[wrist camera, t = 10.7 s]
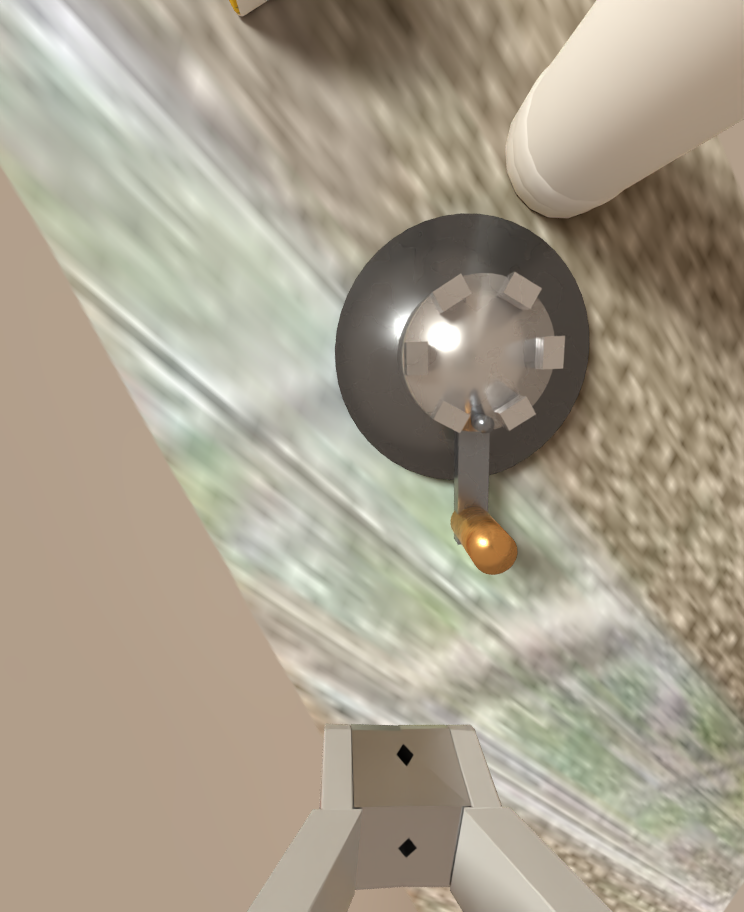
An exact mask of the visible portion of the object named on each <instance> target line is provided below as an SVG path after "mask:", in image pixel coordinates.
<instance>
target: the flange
mask: <svg viewBox="0 0 744 912" xmlns="http://www.w3.org/2000/svg"><path fill="white" fill-rule="evenodd" d="M513 272H516V273H518V274H519V275H521V276H523V277H524V278H526V279H527V280H529V281H531V282H532V283H534V284H536V285H537V286H539V287H540V288H542V289H541V291H540V293H539V295H538V296H537V298H538V299H539V300H540V302H541V303H542V304H543V306H544V308H545V309H546V311H547V313H548V315H549V317H550V320H551V322H552V326H553V330H554V336H565V346H564V362H563V369H553V370H552V374H551V376H550V379H549V382H548V384H547V386H546V388H545V390H544V391H543V393H542V394H541V396H540V397H539V399H538V400H537V401H536V403H535V404H534V405H533V406H532V408H533V409H534V411H535V413H536V414H535V415H534V416H532V417H531V418H529V419H527V420H526V421H524V422H523V423H521V424H519V425H518V426H516V427H515V428H513V429H511V430H510V431H509V430H506V429H504V428H503V427H500V428H497V429H493V430H492V431H491V432H490V440H489V475H491V474H495V473H498V472H501V471H503V470H505V469H507V468H510V467H512V466H514V465H516V464H517V463H519V462H521V461H523V460H524V459H526V458H528V457H529V456H530V455H532V454H533V453H534V452H535V451H537V450H538V449H539V448H541V447H542V446H543V445H544V444H545V443H546V442H547V441H548V440H549V439H550V438H551V437H552V436H553V435H554V433H555V432H556V431H557V430H558V428H559V427H560V426H561V425H562V423H563V422H564V420H565V419H566V417H567V416H568V414H569V413H570V411H571V409H572V407H573V405H574V403H575V401H576V399H577V397H578V395H579V392H580V389H581V386H582V383H583V381H584V377H585V372H586V368H587V363H588V354H589V325H588V319H587V312H586V308H585V305H584V301H583V298H582V294H581V292H580V290H579V287H578V285H577V283H576V281H575V278H574V277H573V275H572V273H571V272H570V270H569V269H568V267H567V265H566V264H565V263H564V261H563V260H562V259H561V258H560V256H559V255H558V254H557V253H556V251H555V250H553V249H552V248H551V247H550V246H549V245H548V244H547V243H546V242H545V241H544V240H543V239H541V238H540V237H538V236H537V235H535V234H534V233H533V232H531V231H530V230H528V229H526V228H524V227H522V226H520V225H518V224H516V223H514V222H511V221H508V220H505V219H502V218H499V217H495V216H489V215H482V214H455V215H447V216H442V217H438V218H435V219H431V220H428V221H425V222H422V223H420V224H418V225H416V226H414V227H411V228H409V229H407V230H406V231H404V232H403V233H401V234H399V235H398V236H396V237H395V238H393V239H392V240H391V241H389V242H388V243H387V244H386V245H385V246H384V247H382V248H381V249H380V250H379V251H378V252H377V253H376V254H375V255H374V256H373V257H372V258H371V260H370V261H369V262H368V263H367V264H366V265H365V267H364V268H363V270H362V271H361V272H360V274H359V275H358V277H357V278H356V280H355V282H354V284H353V285H352V287H351V289H350V291H349V293H348V295H347V298H346V300H345V303H344V306H343V308H342V311H341V314H340V319H339V323H338V328H337V334H336V344H335V362H336V372H337V378H338V384H339V387H340V391H341V394H342V397H343V400H344V403H345V405H346V407H347V409H348V412H349V414H350V416H351V418H352V419H353V421H354V422H355V424H356V426H357V427H358V429H359V430H360V432H361V433H362V434H363V435H364V436H365V438H366V439H367V440H368V441H369V442H370V443H371V444H372V445H373V446H374V447H375V448H376V449H377V450H378V451H379V452H380V453H381V454H383V455H384V456H386V457H387V458H388V459H390V460H391V461H393V462H394V463H396V464H398V465H400V466H402V467H404V468H405V469H407V470H410V471H413V472H415V473H418V474H421V475H424V476H429V477H433V478H438V479H449V480H454V430H453V429H451V428H449V427H447V426H445V425H443V424H441V423H439V422H437V421H435V420H434V419H432V418H431V417H430V415H428V414H427V413H425V412H424V411H423V410H421V409H420V408H419V407H418V406H417V405H416V404H415V403H414V402H413V401H412V399H411V398H410V396H409V395H408V394H407V392H406V390H405V388H404V386H403V384H402V381H401V378H400V374H399V370H398V361H397V353H398V344H399V339H400V336H401V332H402V329H403V327H404V325H405V323H406V321H407V319H408V317H409V316H410V314H411V313H412V311H413V310H414V309H415V308H416V306H417V305H418V304H419V303H420V302H421V301H422V300H423V299H425V298H426V297H427V296H429V294H430V293H432V292H433V291H435V290H436V289H438V288H439V287H441V286H442V285H444V284H445V283H447V282H449V281H450V280H452V279H453V278H455V277H456V276H458V275H459V274H462V276H466V275H470V274H477V273H493V274H498V275H503V276H506V277H507V275H509V274H511V273H513Z"/></svg>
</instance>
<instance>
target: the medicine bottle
mask: <svg viewBox="0 0 744 912" xmlns="http://www.w3.org/2000/svg"><path fill="white" fill-rule="evenodd" d="M229 1H230V3H231V5H232V7H233V9H234V11H235V12H236V13H237V14H238V15H239V16H244V15H246V14H248V13H249V12H251V11H252V10H254V9H255V8H257V7H259V6H260V5H262V4H263V3H265V2H266V1H268V0H229Z"/></svg>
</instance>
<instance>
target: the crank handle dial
mask: <svg viewBox="0 0 744 912" xmlns="http://www.w3.org/2000/svg"><path fill="white" fill-rule="evenodd" d="M541 289H542V288H540V287H539V286H537V285H536V284H534V283H532V282H531V281H529V280H527V279H526V278H524V277H523V276H521V275H519V274H518V273H516V272H513V273H511V274H509V275H507V277H506V276H503V275H498V274H493V273H477V274H470V275H466V276H462V274H459V275H458V276H456V277H455V278H453V279H452V280H450V281H449V282H447V283H445V284H444V285H442V286H441V287H439V288H438V289H436V290H435V291H433V292H432V293H430V294H429V296H427V297H426V298H425V299H423V300H422V301H421V302H420V303H419V304H418V305H417V306H416V308H415V309H414V310H413V311H412V313H411V314H410V316H409V317H408V319H407V321H406V323H405V325H404V327H403V329H402V332H401V336H400V339H399V344H398V353H397V361H398V370H399V374H400V378H401V381H402V384H403V386H404V388H405V390H406V392H407V394H408V395H409V396H410V398H411V399H412V401H413V402H414V403H415V404H416V405H417V406H418V407H419V408H420V409H421V410H423V411H424V412H425V413H427V414H428V415H430V417H431V418H432V419H434V420H435V421H437V422H439V423H441V424H443V425H445V426H447V427H449V428H451V429H453V430H454V512H453V514H452V517H451V528H452V530H453V532H454V539H455V541H456V542H457V544H462V545H463V547H464V549H465V550H466V552H467V553H468V555H469V556H470V558H471V559H472V561H473V562H474V564H475V565H476V567H477V568H478V569H479V570H480V571H482V572H483V573H486V574H491V575H495V574H500V573H503V572H505V571H506V570H508V569H509V568H510V567H511V566H512V565H513V564H514V562H515V560H516V558H517V546H516V543H515V541H514V540H513V539H512V538H511V537H510V536H509V535H508V533H507V532H506V531H505V530H504V529H503V528H502V527H501V526H500V525H499V524H498V523H497V522H496V521H495V520H494V519H493V518H492V517H491V516H490V514H489V513H488V484H489V440H490V432H491V431H492V430H493V429H497V428H500V427H503V428H504V429H506V430H509V431H510V430H511V429H513V428H515V427H516V426H518V425H519V424H521V423H523V422H524V421H526V420H527V419H529V418H531V417H532V416H534V415H535V414H536V413H535V411H534V409H533V408H532V406H533V405H534V404H535V403H536V401H537V400H538V399H539V397H540V396H541V394H542V393H543V391H544V390H545V388H546V386H547V384H548V382H549V379H550V376H551V374H552V370H553V369H563V362H564V346H565V336H554V330H553V326H552V322H551V320H550V317H549V315H548V313H547V311H546V309H545V308H544V306H543V304H542V303H541V302H540V300H539V299H538V298H537V296H538V295H539V293H540V291H541Z"/></svg>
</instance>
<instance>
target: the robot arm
mask: <svg viewBox="0 0 744 912" xmlns="http://www.w3.org/2000/svg"><path fill="white" fill-rule="evenodd" d="M391 887H450V891H451V893H452V895H453V896H454V898H455V899H456V901H457V903H458V904H459V906H460V907H461V909H462V911H463V912H612V911H611V910H610V909H609V908H608V906H607V905H606V904H605V903H604V902H603V901H602V900H601V899H600V898H599V897H598V896H597V895H596V894H595V893H594V892H593V891H592V890H591V889H590V888H589V887H588V886H587V885H586V884H585V883H584V882H583V881H582V880H581V879H580V878H579V877H578V876H577V875H576V874H575V873H574V872H573V871H572V870H571V869H570V868H569V867H568V866H567V865H566V864H565V863H564V862H563V861H562V860H561V859H560V858H559V857H558V856H557V855H556V854H555V852H554V851H553V850H552V849H551V848H550V847H549V846H548V845H547V844H546V843H545V842H544V841H543V840H542V839H541V838H540V837H539V836H538V835H537V834H536V833H535V832H534V831H533V830H532V829H531V828H530V827H529V826H528V825H527V824H526V823H525V822H524V821H523V820H522V819H521V818H520V817H519V816H518V815H517V814H516V813H515V812H514V811H513V810H512V809H511V808H510V807H502V805H501V802H500V799H499V797H498V794H497V791H496V788H495V785H494V783H493V780H492V777H491V774H490V771H489V769H488V766H487V763H486V760H485V757H484V754H483V752H482V749H481V746H480V743H479V740H478V738H477V735H476V732H475V729H474V728H473V727H472V726H471V725H398V726H394V725H364V724H351V726H350V725H349V724H325V730H324V744H323V759H322V775H321V790H320V807H319V809H317V810H315V809H314V810H312V812H311V813H310V815H309V816H308V818H307V819H306V821H305V823H304V824H303V826H302V827H301V829H300V830H299V832H298V833H297V835H296V836H295V838H294V840H293V841H292V843H291V844H290V846H289V847H288V849H287V850H286V852H285V853H284V855H283V857H282V858H281V860H280V861H279V863H278V864H277V866H276V867H275V869H274V870H273V872H272V874H271V875H270V877H269V878H268V880H267V881H266V883H265V885H264V886H263V888H262V889H261V891H260V892H259V894H258V895H257V897H256V898H255V900H254V902H253V903H252V905H251V906H250V908H249V909H248V911H247V912H347V911H348V908H349V906H350V904H351V901H352V899H353V896H354V893H355V890H360V889H375V888H391Z"/></svg>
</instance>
